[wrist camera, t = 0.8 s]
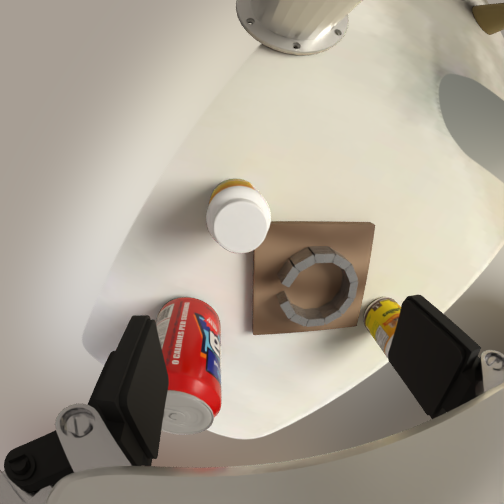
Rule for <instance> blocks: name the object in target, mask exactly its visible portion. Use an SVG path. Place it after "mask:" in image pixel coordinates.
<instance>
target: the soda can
mask: <svg viewBox="0 0 504 504" xmlns="http://www.w3.org/2000/svg"><path fill="white" fill-rule="evenodd" d="M156 326H157V331H158V336H159V340H160V344H161V349H162V353H163V357H164V361H165V365H166V369H167V373H168V378H169V386H168V391H167V397H166V403H165V409H164V415H163V422H162V428H161V430H162V431H165V432H168V433H172V434H179V435H190V434H196V433H200V432H202V431H205V430H206V429H208V428H209V427H210V426H211V425H212V423H213V420H214V417H215V416H216V415H217V414H218V413H219V411H220V408H221V326H220V320H219V317H218V315H217V313H216V312H215V310H214V309H213V308H212V307H211V306H210V305H208V304H207V303H205V302H203V301H201V300H198V299H195V298H189V297H182V298H177V299H174V300H171V301H169V302H168V303H166V304H165V305H164V306H163V307H162V309H161V310H160V312H159V314H158V317H157V320H156Z"/></svg>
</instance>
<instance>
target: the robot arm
mask: <svg viewBox="0 0 504 504" xmlns="http://www.w3.org/2000/svg"><path fill="white" fill-rule="evenodd" d="M362 1H363V0H237V1H236V11H237V16H238V18H239V20H240V22H241V24H242V26H243V27H244V28H245V30H246V31H247V32H248V33H249V34H250V35H251V36H252V37H253V38H255V39H256V40H257V41H259V42H260V43H262V44H264V45H265V46H268V47H270V48H272V49H274V50H277V51H281V52H284V53H289V54H295V55H310V54H317V53H320V52H323V51H326V50H328V49H330V48H331V47H333V46H335V45H336V44H337V43H338V42H339V41H340V40H341V39H342V38H343V37H344V35H345V33H346V31H347V29H348V22H349V19H348V14H349V13H350V12H351V11H352V10H353V9H354V8H355V7H356V6H357V5H358V4H359V3H361V2H362ZM248 23H252V24H248ZM293 47H296V48H297V49H294V48H293ZM480 349H481V347H480V346H479V345H478V344H477V343H476V342H474V341H473V340H472V339H471V338H470V337H469V336H468V335H467V334H466V333H464V332H463V331H462V330H461V329H460V328H459V327H458V326H456V324H454V323H453V322H452V321H451V320H450V319H449V318H447V317H446V316H445V315H444V314H443V313H442V312H441V311H439V310H438V309H437V308H436V307H435V306H433V305H432V304H431V303H430V302H429V301H427V300H426V299H425V298H424V297H423V296H421V295H413V296H408V297H407V298H406V299H405V301H403V303H402V306H401V310H400V314H399V318H398V322H397V325H396V329H395V332H394V336H393V339H392V342H391V346H390V349H389V352H388V359H389V362H390V363H391V364H392V366H393V367H394V369H395V370H396V371H397V373H398V374H399V376H400V377H401V378H402V380H403V381H404V383H405V384H406V385H407V387H408V388H409V390H410V391H411V393H412V394H413V395H414V397H415V398H416V400H417V401H418V403H419V404H420V405H421V407H422V408H423V410H424V411H425V413H426V414H427V415H430V416H431V418H432V420H430V421H427V422H425V423H422V424H420V425H418V426H415V427H413V428H410V429H408V430H405V431H402V432H400V433H397V434H394V435H392V436H388V437H386V438H383V439H380V440H377V441H373V442H370V443H367V444H363V445H360V446H356V447H353V448H349V449H345V450H341V451H338V452H333V453H328V454H324V455H319V456H314V457H309V458H304V459H298V460H292V461H285V462H278V463H270V464H261V465H250V466H233V467H213V468H211V467H210V468H209V467H208V468H189V467H155V466H151V463H152V459H156V458H157V456H158V449H159V442H160V435H161V428H162V422H163V415H164V409H165V403H166V397H167V391H168V386H169V378H168V373H167V369H166V365H165V361H164V357H163V353H162V349H161V344H160V340H159V336H158V331H157V326H156V322H155V320H150V317H149V316H132V318H131V320H130V322H129V324H128V326H127V328H126V330H125V332H124V334H123V336H122V338H121V341H120V343H119V345H118V347H117V349H116V351H112V352H111V353H110V355H109V357H108V359H107V361H106V363H105V366H104V368H103V370H102V372H101V374H100V377H99V379H98V381H97V383H96V386H95V388H94V391H93V393H92V395H91V398H90V400H89V403H88V405H86V404H74V405H70V406H68V407H66V408H64V409H63V410H62V411H61V412H60V413H59V414H58V416H57V418H56V422H55V427H56V430H55V431H54V432H51V433H49V434H47V435H45V436H43V437H40V438H38V439H36V440H33V441H31V442H29V443H27V444H24V445H22V446H19V447H17V448H15V449H13V450H11V451H10V452H9V453H8V455H7V456H6V459H5V462H4V468H5V470H4V471H3V472H2V471H1V470H0V504H504V355H503V354H502V353H500V352H497V351H494V350H487V351H485V352H483V353H482V355H481V357H480V358H479V357H478V353H479V351H480ZM446 412H447V413H446Z"/></svg>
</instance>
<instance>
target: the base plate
mask: <svg viewBox="0 0 504 504" xmlns="http://www.w3.org/2000/svg"><path fill="white" fill-rule="evenodd" d="M374 230H375V225H374V224H372V223H371V222H308V221H276V222H271V223H270V227H269V230H268V232H267V234H266V237H265V239H264V241H263V242H262V243H261V245H260V246H259V247H257V248H256V249H254V266H253V328H252V330H253V335H263V334H280V333H293V332H305V331H316V330H326V329H336V328H344V327H352V326H357V322H358V318H359V313H360V309H361V304H362V299H363V295H364V290H365V285H366V279H367V274H368V268H369V263H370V257H371V250H372V244H373V237H374ZM309 246H328V247H330V248H332V249H334V250H335V251H337V252H339V253H340V254H342V255H343V256H344V257H345V258H346V259H347V260H348V261H349V262H350V263H351V264H352V265H353V268H354V270H355V273H356V275H357V278H358V286H357V292H356V297H355V298H353V299H354V301H353V303H352V304H351V305H350V307H349V308H348V309H347V310H346V312H345V313H344V314H342V316H341V317H339V318H337V319H335V320H334V321H332V322H330V323H328V324H324V325H322V326H311V327H306V326H302V325H300V324H298V323H295V322H293V321H291V320H290V319H288V317H287V316H286V314H285V313H284V311H283V309H282V308H281V306H280V304H279V301H278V298H277V295H276V294H278V293H280V292H282V291H284V292H285V293H286V295H287V297H288V298H289V300H290V302H291V303H292V304H294V305H296V306H299V307H301V308H303V309H309V308H319V307H321V306H322V305H324V304H326V303H328V302H329V301H331V300H332V299H333V298H334V296H335V295H336V294H337V292H338V291H339V289H340V287H341V281H342V275H343V274H342V272H341V269H340V267H339V266H337V265H335V264H334V263H315V264H313V265H312V266H310V267H308V268H306V269H305V270H303V271H301V272H300V273H299V274H298V276H297V277H296V279H295V280H294V281H293V283H292V284H291V286H290V287H287V286H285V285H283V284H281V282H280V279H279V277H278V275H277V274H278V272H279V271H280V269H281V268H282V266H283V265H284V263H285V262H286V260H287V259H288V258H289V259H290V256H292V255H293V254H295V253H297V252H299V251H300V250H302V249H304V248H306V247H307V248H308V247H309Z"/></svg>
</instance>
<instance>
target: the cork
mask: <svg viewBox="0 0 504 504" xmlns="http://www.w3.org/2000/svg"><path fill="white" fill-rule="evenodd" d="M472 11H473V15H474V17H475V19H476V21H477V23H478V24H479V26H480V27H481V28H482V29H483V30H484V31H485V32H486V33H487V34H489V35H491V34H494V33H496V32H499V31H501V30H503V29H504V3H498V4H488V5H479V6H474V7H473V8H472Z"/></svg>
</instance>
